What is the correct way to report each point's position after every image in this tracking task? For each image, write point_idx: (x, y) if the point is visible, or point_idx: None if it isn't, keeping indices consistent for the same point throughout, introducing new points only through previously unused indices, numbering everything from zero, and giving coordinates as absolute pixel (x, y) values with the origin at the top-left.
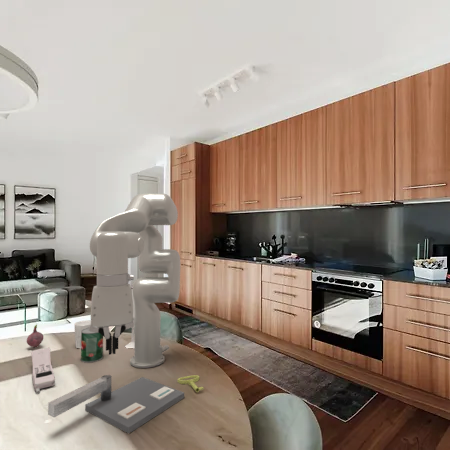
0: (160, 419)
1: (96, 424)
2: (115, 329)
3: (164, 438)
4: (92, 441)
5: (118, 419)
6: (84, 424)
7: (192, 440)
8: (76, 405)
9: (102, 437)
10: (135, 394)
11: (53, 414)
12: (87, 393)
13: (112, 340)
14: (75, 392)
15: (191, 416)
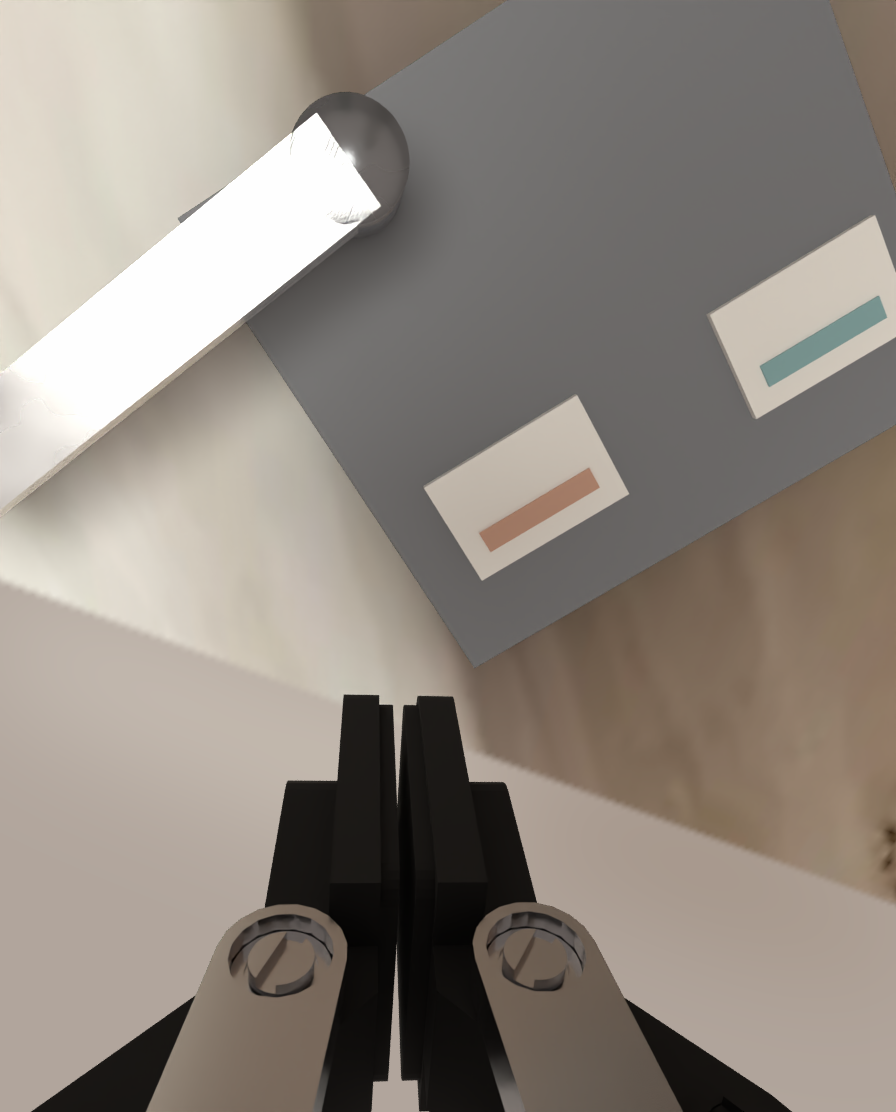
0: (681, 581)
1: (282, 470)
2: (509, 1080)
3: (641, 756)
4: (263, 640)
5: (424, 558)
6: (200, 435)
7: (760, 817)
8: (96, 440)
9: (320, 625)
10: (606, 233)
11: None
12: (167, 380)
13: (404, 961)
14: (41, 416)
15: (858, 625)
